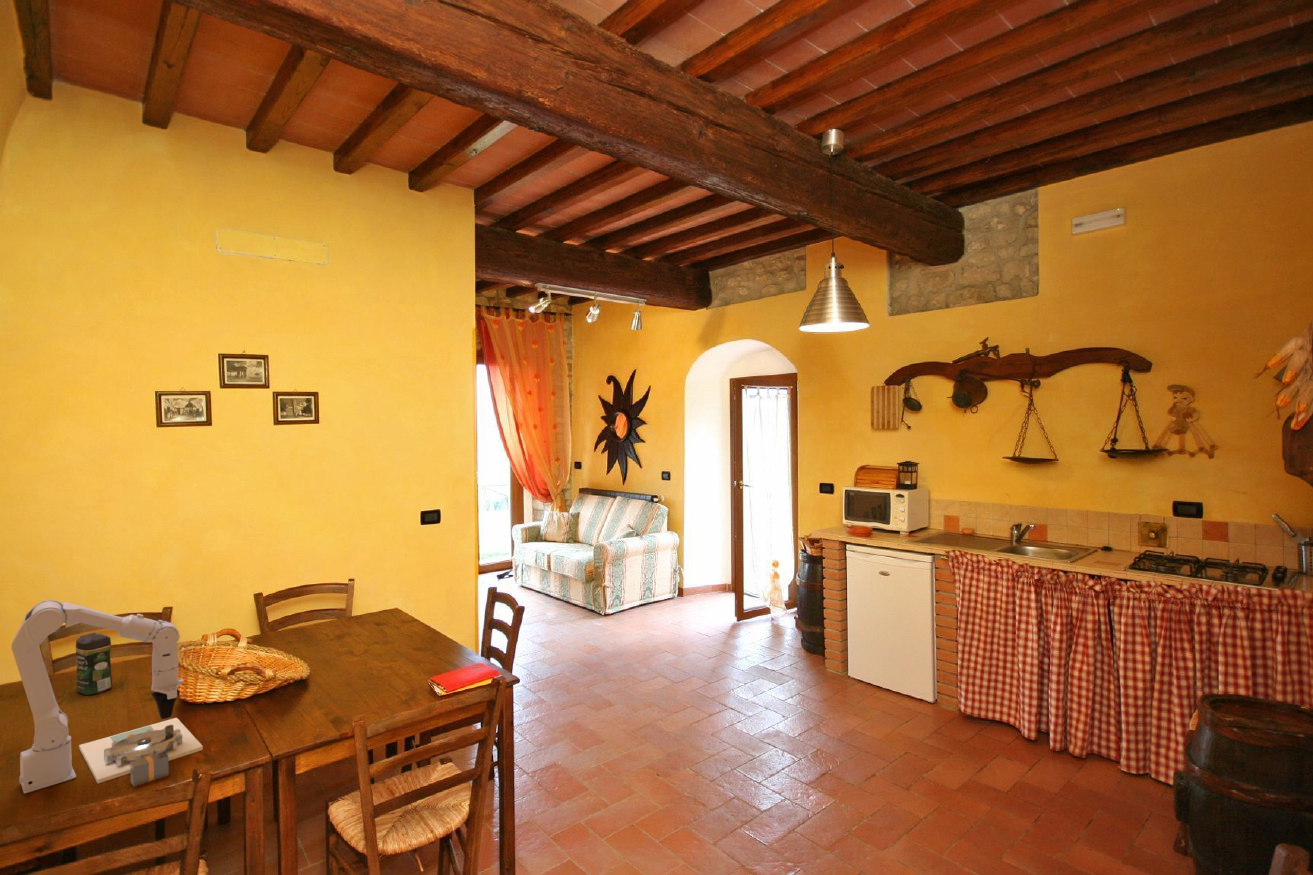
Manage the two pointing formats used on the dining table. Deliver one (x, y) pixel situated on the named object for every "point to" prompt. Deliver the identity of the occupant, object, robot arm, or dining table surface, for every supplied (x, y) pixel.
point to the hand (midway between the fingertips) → (165, 717)
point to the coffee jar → (93, 663)
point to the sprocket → (143, 745)
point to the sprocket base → (105, 772)
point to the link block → (149, 769)
